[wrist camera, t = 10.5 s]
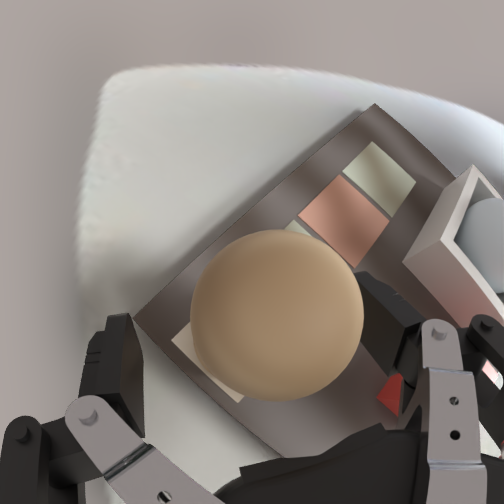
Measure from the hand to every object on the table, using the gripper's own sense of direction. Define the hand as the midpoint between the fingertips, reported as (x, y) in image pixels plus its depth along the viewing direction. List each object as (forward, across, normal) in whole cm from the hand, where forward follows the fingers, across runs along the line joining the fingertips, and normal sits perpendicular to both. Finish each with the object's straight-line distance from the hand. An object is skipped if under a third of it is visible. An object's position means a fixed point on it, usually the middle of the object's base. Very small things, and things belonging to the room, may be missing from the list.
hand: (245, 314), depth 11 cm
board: (+4, +12, -5) cm, 13 cm away
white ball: (+4, +18, -3) cm, 18 cm away
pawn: (+3, 0, -4) cm, 5 cm away
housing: (+4, +18, -3) cm, 18 cm away
